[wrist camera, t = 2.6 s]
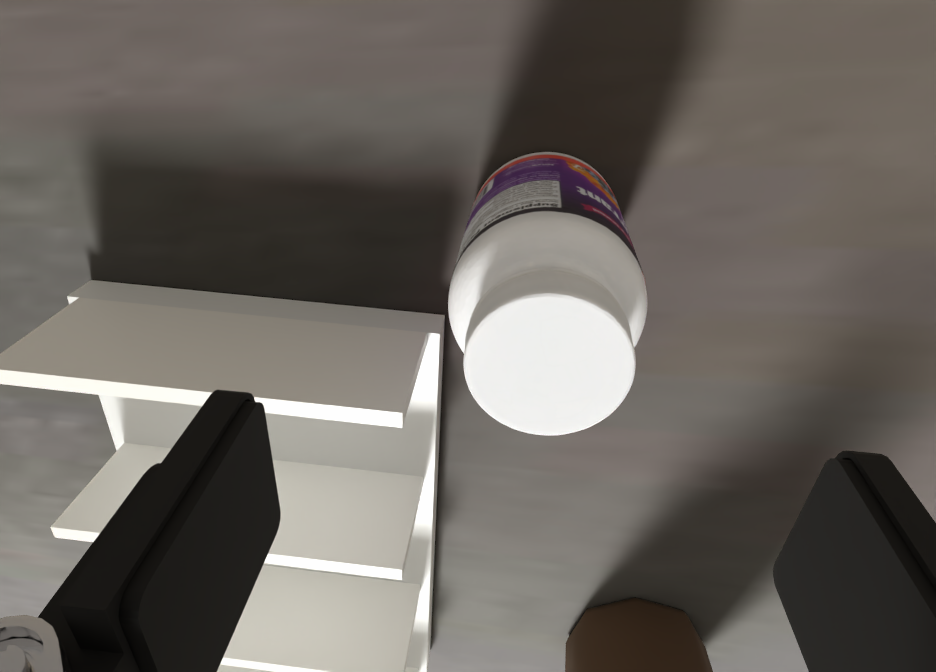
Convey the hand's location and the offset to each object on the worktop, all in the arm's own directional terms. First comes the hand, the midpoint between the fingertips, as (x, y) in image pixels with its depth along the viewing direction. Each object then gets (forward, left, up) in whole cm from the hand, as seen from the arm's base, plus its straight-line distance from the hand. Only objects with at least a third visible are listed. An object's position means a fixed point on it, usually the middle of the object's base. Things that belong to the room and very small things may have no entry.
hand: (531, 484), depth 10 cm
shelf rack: (+11, +16, -14) cm, 24 cm away
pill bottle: (0, 0, -14) cm, 14 cm away
